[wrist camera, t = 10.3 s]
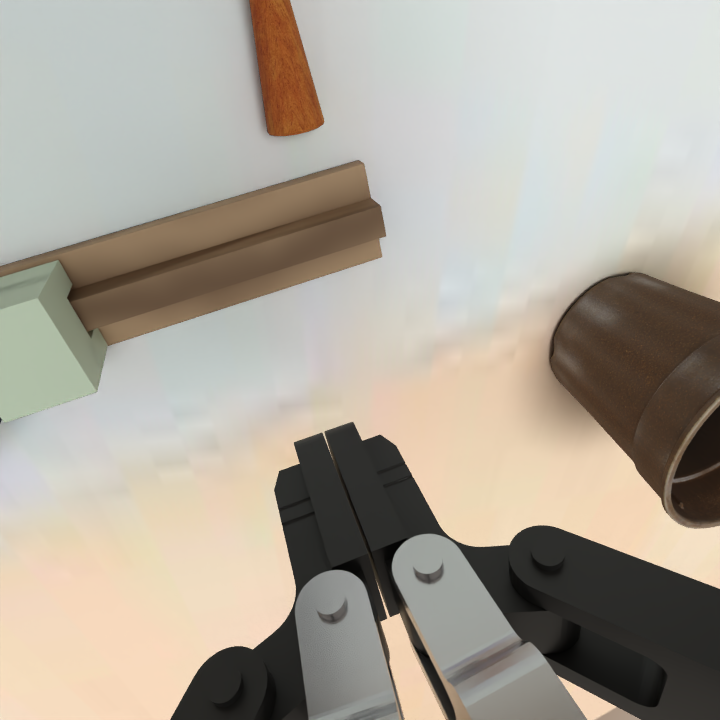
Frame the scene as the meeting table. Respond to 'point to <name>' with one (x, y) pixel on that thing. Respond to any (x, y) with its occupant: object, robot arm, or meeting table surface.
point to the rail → (219, 253)
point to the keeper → (44, 344)
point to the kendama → (283, 70)
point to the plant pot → (651, 384)
